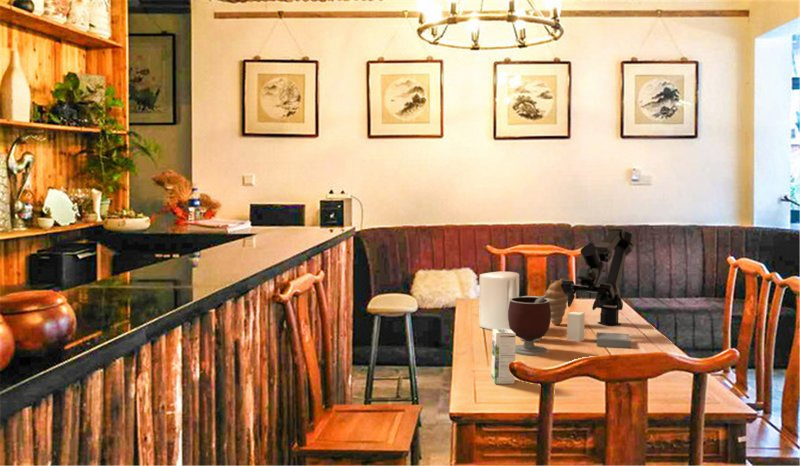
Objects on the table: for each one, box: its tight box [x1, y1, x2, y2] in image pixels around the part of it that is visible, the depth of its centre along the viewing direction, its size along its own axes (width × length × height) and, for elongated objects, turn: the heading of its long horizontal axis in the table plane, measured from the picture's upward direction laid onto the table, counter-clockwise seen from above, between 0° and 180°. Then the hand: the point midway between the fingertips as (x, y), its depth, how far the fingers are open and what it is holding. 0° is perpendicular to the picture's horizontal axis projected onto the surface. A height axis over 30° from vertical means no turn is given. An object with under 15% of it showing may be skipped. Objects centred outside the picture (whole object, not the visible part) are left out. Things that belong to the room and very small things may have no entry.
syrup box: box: [490, 329, 517, 385], centre depth 205 cm, size 6×6×14 cm
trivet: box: [595, 331, 632, 349], centre depth 251 cm, size 11×11×3 cm
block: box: [566, 311, 586, 342], centre depth 257 cm, size 4×4×10 cm
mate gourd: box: [508, 294, 551, 357], centre depth 239 cm, size 16×14×20 cm
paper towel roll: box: [478, 271, 520, 331], centre depth 274 cm, size 15×14×22 cm
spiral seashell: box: [544, 278, 568, 326], centre depth 282 cm, size 9×8×18 cm
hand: (580, 307), depth 260 cm, fingers open, 9 cm apart
